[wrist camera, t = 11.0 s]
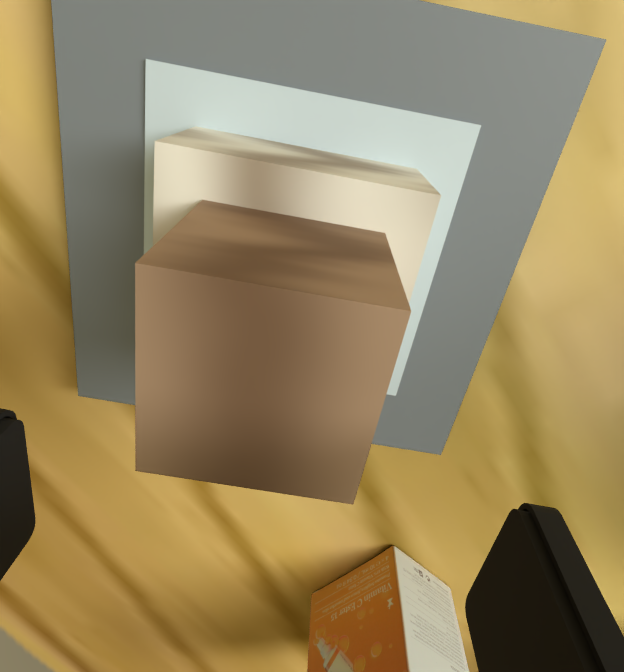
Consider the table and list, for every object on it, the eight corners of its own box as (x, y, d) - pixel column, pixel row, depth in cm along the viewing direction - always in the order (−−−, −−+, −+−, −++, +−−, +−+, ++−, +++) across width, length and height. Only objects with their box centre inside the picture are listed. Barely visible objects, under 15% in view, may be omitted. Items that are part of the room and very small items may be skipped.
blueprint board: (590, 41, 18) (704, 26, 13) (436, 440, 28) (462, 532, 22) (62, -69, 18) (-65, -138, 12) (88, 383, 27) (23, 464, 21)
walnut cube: (385, 232, 16) (411, 311, 11) (347, 383, 19) (353, 504, 13) (202, 199, 16) (135, 262, 10) (192, 357, 18) (135, 470, 13)
